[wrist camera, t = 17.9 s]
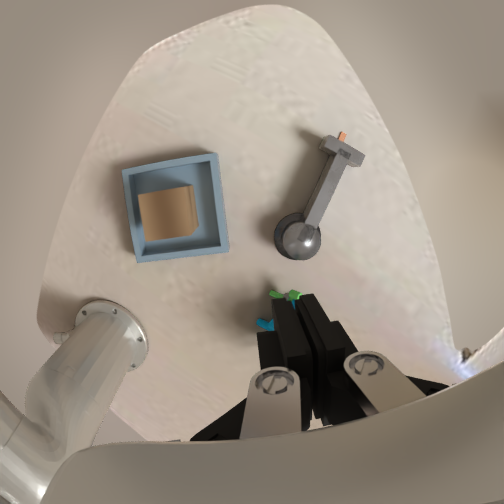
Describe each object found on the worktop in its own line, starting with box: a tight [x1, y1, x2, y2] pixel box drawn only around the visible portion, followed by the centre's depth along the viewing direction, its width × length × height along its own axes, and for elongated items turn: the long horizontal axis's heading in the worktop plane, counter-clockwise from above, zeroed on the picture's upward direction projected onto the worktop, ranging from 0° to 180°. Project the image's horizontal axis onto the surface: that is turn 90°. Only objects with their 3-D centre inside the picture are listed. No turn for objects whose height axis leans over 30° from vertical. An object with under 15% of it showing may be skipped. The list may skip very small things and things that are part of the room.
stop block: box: [138, 185, 199, 242], centre depth 31 cm, size 5×5×6 cm
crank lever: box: [281, 135, 365, 260], centre depth 33 cm, size 15×5×3 cm, turn 156°
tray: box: [122, 153, 229, 263], centre depth 33 cm, size 12×12×2 cm
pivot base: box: [274, 132, 346, 260], centre depth 35 cm, size 6×18×1 cm, turn 146°
